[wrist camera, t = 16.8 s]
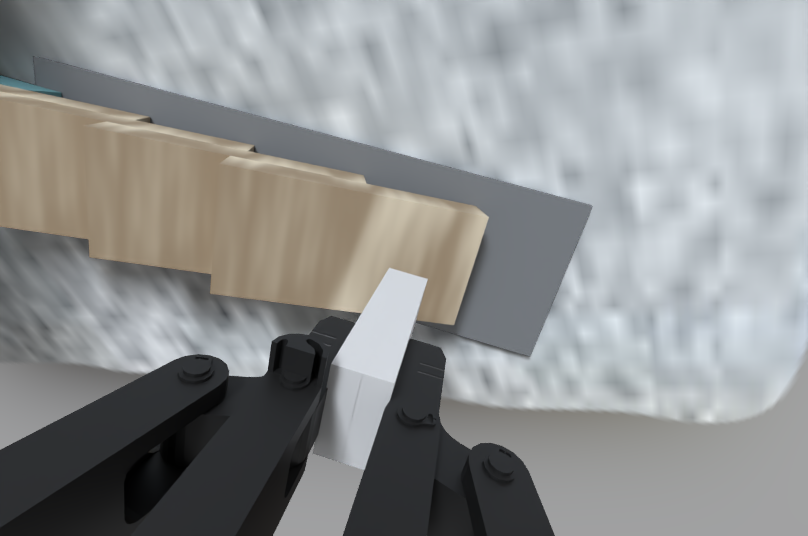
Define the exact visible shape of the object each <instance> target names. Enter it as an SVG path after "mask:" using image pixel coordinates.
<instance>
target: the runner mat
mask: <svg viewBox="0 0 808 536" xmlns="http://www.w3.org/2000/svg"><path fill="white" fill-rule="evenodd" d="M33 62H34V74H35V85H36V86H40V87H43V88H47V89H50V90H54V91H57V92H61V96H62V98H66V99H70V100H75V101H79V102H84V103H89V104H93V105H98V106H102V107H107V108H112V109H116V110H121V111H125V112H130V113H135V114H139V115H144V116H148V117H150V123H151V124H156V125H161V126H166V127H170V128H175V129H180V130H184V131H189V132H194V133H199V134H203V135H208V136H213V137H218V138H222V139H227V140H232V141H237V142H241V143H246V144H251V145H254V152H255V153H260V154H264V155H269V156H274V157H279V158H284V159H288V160H293V161H298V162H303V163H308V164H312V165H317V166H322V167H327V168H331V169H336V170H341V171H346V172H351V173H355V174H360V175H364V178H365V181H366V183H367V184H371V185H376V186H381V187H386V188H390V189H395V190H400V191H405V192H410V193H415V194H420V195H425V196H429V197H434V198H439V199H444V200H449V201H454V202H459V203H464V204H468V205H473V206H476V207H477V208H479V209H480V210H481V211H482V212H483V213H484V214H486V215H487V216H488V217H489V219H488V222H487V225H486V228H485V231H484V234H483V237H482V240H481V243H480V246H479V249H478V253H477V256H476V259H475V262H474V265H473V268H472V271H471V274H470V277H469V280H468V283H467V286H466V289H465V293H464V296H463V299H462V302H461V305H460V308H459V311H458V314H457V317H456V320H455V323H454V325H449V324H441V323H433V322H425V321H418V320H416V323H419V324H423V325H426V326H429V327H433V328H436V329H439V330H443V331H446V332H449V333H453V334H456V335H459V336H463V337H466V338H469V339H473V340H476V341H480V342H483V343H486V344H490V345H493V346H496V347H500V348H503V349H506V350H510V351H513V352H516V353H520V354H523V355H526V356H530V355H531V353H532V351H533V348H534V346H535V343H536V341H537V339H538V336H539V334H540V331H541V329H542V327H543V324H544V322H545V319H546V317H547V315H548V312H549V310H550V307H551V305H552V303H553V300H554V298H555V295H556V293H557V291H558V288H559V286H560V283H561V281H562V279H563V276H564V274H565V271H566V269H567V267H568V264H569V262H570V259H571V257H572V255H573V252H574V250H575V247H576V245H577V243H578V240H579V238H580V235H581V233H582V231H583V228H584V226H585V223H586V221H587V219H588V216H589V214H590V211H591V209H592V206H591V205H589V204H585V203H581V202H577V201H574V200H570V199H566V198H563V197H559V196H555V195H551V194H548V193H544V192H540V191H536V190H533V189H529V188H525V187H522V186H518V185H514V184H510V183H507V182H503V181H499V180H495V179H492V178H488V177H484V176H481V175H477V174H473V173H469V172H466V171H462V170H458V169H454V168H451V167H447V166H443V165H440V164H436V163H432V162H428V161H425V160H421V159H417V158H414V157H410V156H406V155H402V154H399V153H395V152H391V151H387V150H384V149H380V148H376V147H373V146H369V145H365V144H361V143H358V142H354V141H350V140H346V139H343V138H339V137H335V136H332V135H328V134H324V133H320V132H317V131H313V130H309V129H305V128H302V127H298V126H294V125H291V124H287V123H283V122H279V121H276V120H272V119H268V118H265V117H261V116H257V115H253V114H250V113H246V112H242V111H238V110H235V109H231V108H227V107H224V106H220V105H216V104H212V103H209V102H205V101H201V100H197V99H194V98H190V97H186V96H183V95H179V94H175V93H171V92H168V91H164V90H160V89H156V88H153V87H149V86H145V85H142V84H138V83H134V82H130V81H127V80H123V79H119V78H116V77H112V76H108V75H104V74H101V73H97V72H93V71H89V70H86V69H82V68H78V67H75V66H71V65H67V64H63V63H60V62H56V61H52V60H48V59H45V58H41V57H35V56H33Z"/></svg>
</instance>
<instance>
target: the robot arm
mask: <svg viewBox="0 0 808 536" xmlns="http://www.w3.org/2000/svg"><path fill="white" fill-rule="evenodd" d="M427 280H428V279H426V278H423V277H419V276H416V275H412V274H409V273H405V272H402V271H399V270H395V269H392V268H389V269H388V271H387V272H386V274H385V276H384V277H383V279H382V280H381V282H380V284H379V285H378V287H377V289H376V290H375V292H374V294H373V295H372V297H371V299H370V300H369V302H368V304H367V305H366V307H365V309H364V310H363V312H362V314H361V315H360V317H359V319H358V320H357V322H356V323H353V322H350V321H346V320H343V319H340V318H336V317H333V316H331V317H328V318H326V319H324V320H322V321H320V322H319V323H318V324H317V325H316V327H315V328H314V329H313V330H312V332H311V333H310V334H309V335H304V334H287V335H283V336H279V337H278V338H276V339H275V340H273V341H272V344H271V351H270V358H269V365H268V371H267V373H266V374H265V375H264V376H262V377H239V376H229V370H228V367H227V364H226V363H224V362H223V361H222V360H221V359H219V358H216V357H213V356H210V355H199V354H197V355H189V356H184V357H181V358H179V359H176V360H174V361H172V362H170V363H168V364H166V365H164V366H162V367H160V368H158V369H156V370H154V371H152V372H150V373H148V374H146V375H145V376H143V377H141V378H139V379H137V380H135V381H133V382H131V383H129V384H127V385H125V386H123V387H121V388H120V389H117V390H115V391H114V392H112V393H110V394H108V395H106V396H104V397H102V398H100V399H98V400H96V401H94V402H92V403H90V404H88V405H86V406H85V407H83V408H81V409H79V410H77V411H75V412H73V413H71V414H69V415H67V416H65V417H63V418H61V419H59V420H57V421H55V422H53V423H52V424H50V425H48V426H46V427H44V428H42V429H40V430H38V431H36V432H34V433H32V434H30V435H28V436H26V437H25V438H22V439H21V440H19V441H17V442H15V443H13V444H11V445H9V446H7V447H5V448H3V449H1V450H0V536H273V534H274V532H275V530H276V528H277V526H278V524H279V522H280V520H281V518H282V516H283V514H284V512H285V509H286V507H287V506H288V503H289V501H290V499H291V497H292V495H293V493H294V491H295V489H296V487H297V485H298V483H299V481H300V479H301V477H302V475H303V473H304V471H305V467H306V462H307V457H308V454H309V452H310V450H311V448H312V446H313V444H314V442H315V444H314V449H313V453H314V454H316V455H320V456H323V457H326V458H329V459H332V460H335V461H338V462H341V463H344V464H347V465H350V466H353V467H356V468H359V469H362V470H364V473H363V476H362V479H361V482H360V485H359V489H358V491H357V494H356V497H355V500H354V503H353V506H352V509H351V512H350V515H349V519H348V522H347V524H346V528H345V531H344V534H343V536H555V535H554V533H553V530H552V528H551V525H550V523H549V520H548V518H547V515H546V513H545V510H544V508H543V505H542V503H541V501H540V498H539V496H538V493H537V491H536V488H535V486H534V483H533V481H532V478H531V476H530V473H529V471H528V470H527V468H526V466H525V465H524V463H523V462H522V461H521V459H520V458H518V457H517V456H516V455H515V454H514V453H513V452H511V451H510V450H508V449H506V448H504V447H502V446H500V445H496V444H493V443H480V444H478V445H476V446H474V447H473V448H472V450H470V449H468V448H467V447H465V446H464V445H462V444H460V443H459V442H457V441H456V440H455V439H453V438H452V437H451V436H450V435H449V434H448V433H447V432H446V431H445V430H444V428H443V426H442V425H441V423H440V417H439V407H440V400H441V393H442V385H443V378H444V370H445V363H446V358H445V356H444V354H443V351H442V349H441V348H440V347H436V346H433V345H430V344H426V343H423V342H420V341H417V340H413V339H411V336H412V333H413V329H414V326H415V322H416V319H417V315H418V312H419V308H420V305H421V301H422V298H423V294H424V291H425V287H426V284H427Z"/></svg>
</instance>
